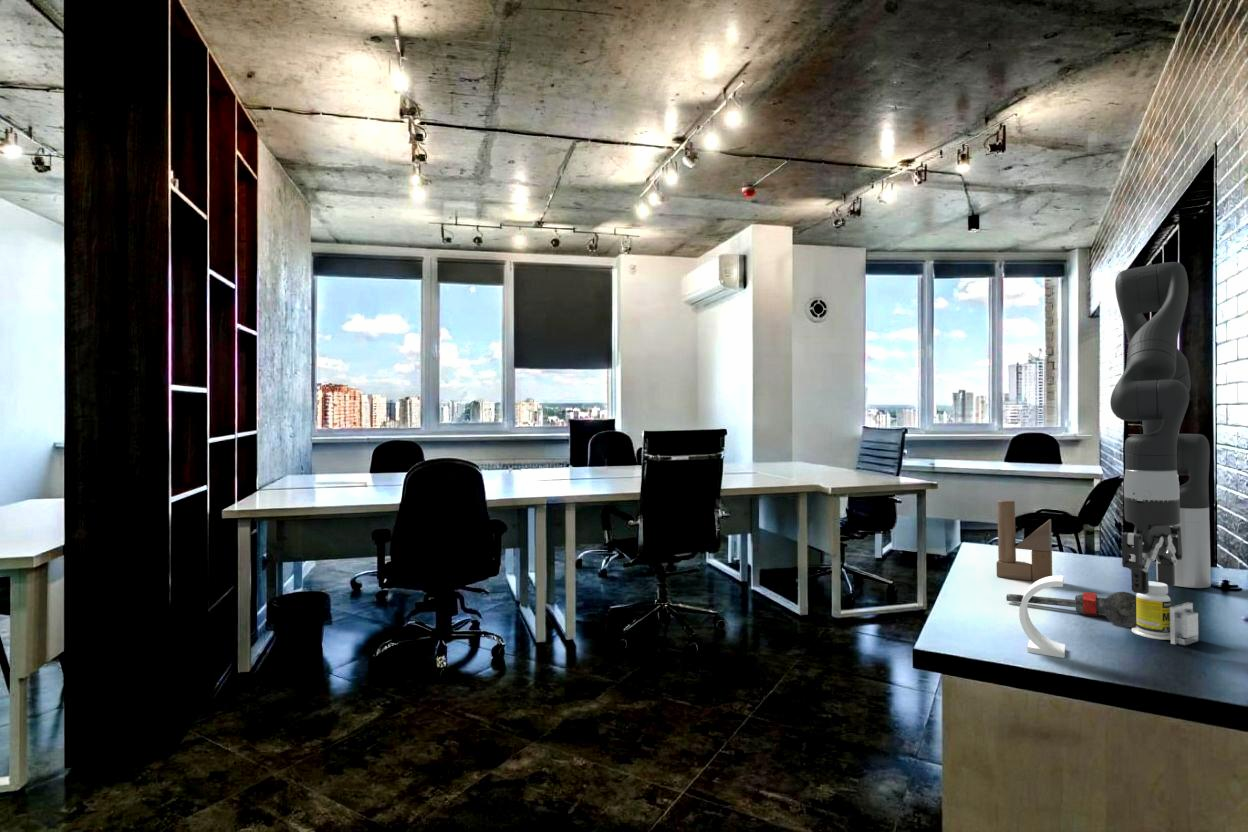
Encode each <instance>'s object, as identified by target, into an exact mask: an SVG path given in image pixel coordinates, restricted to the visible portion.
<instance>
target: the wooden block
mask: <svg viewBox="0 0 1248 832" xmlns="http://www.w3.org/2000/svg"><path fill="white" fill-rule="evenodd" d="M996 506H997V544H998V545H997V547H998V552H997V553H998V560H997V561H996V564H995V565H996V577H998V578H1005V579H1006V578H1007V579H1012V580H1013V579H1014V580H1020V581H1021V580H1022V581H1030V582H1033V583H1034V582H1036V581H1037V580H1039V579H1042V578H1045V577H1048V576H1053V550H1052V549H1053V547H1052V546H1053V545H1052V544H1053V543H1052V542H1053V541H1052V519H1051V518H1050V519H1048V520H1047V521H1046V522H1044V523H1043V524H1042V525H1040V526H1039V527H1038V528H1037V529H1035V530H1034V531H1033V532H1032V533H1030V534H1029V535H1028V536H1026V538H1023V540H1022V541H1020V542H1019V543H1018V544H1016V502H1015V500H1013V499H999V500H997V505H996ZM1016 549H1017V550H1026V551H1027V550H1028V551H1031V563H1029V562H1026V561H1019V560H1017V554H1016V553H1017V551H1016Z"/></svg>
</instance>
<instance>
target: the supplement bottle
mask: <svg viewBox="0 0 1248 832" xmlns="http://www.w3.org/2000/svg"><path fill="white" fill-rule="evenodd" d="M1148 581H1149V592H1148V593H1147V594H1140V593H1136V594H1135V595H1136V623H1137V630H1139V631H1140V632H1143V633H1146V634H1151V635H1157V636H1168V635H1170V607H1172V601H1171V597H1170V596H1169V595H1168V594H1169V586H1168V585H1167V584H1164V583H1160V582H1158V581H1152V580H1148Z"/></svg>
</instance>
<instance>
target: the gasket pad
mask: <svg viewBox="0 0 1248 832" xmlns="http://www.w3.org/2000/svg"><path fill="white" fill-rule="evenodd" d="M1131 632H1132V633H1133V634H1135V635H1138V636H1140V637H1145V638H1148V639H1153V640H1161V641H1162V640H1163V641H1164V640H1165V641H1167V640H1168V641H1169V640H1170V641H1171V636H1170V635H1168V636H1157V635H1151V634H1146V633H1143V632H1140V631H1139V630H1137V627H1134V628H1133V627H1131Z"/></svg>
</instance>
